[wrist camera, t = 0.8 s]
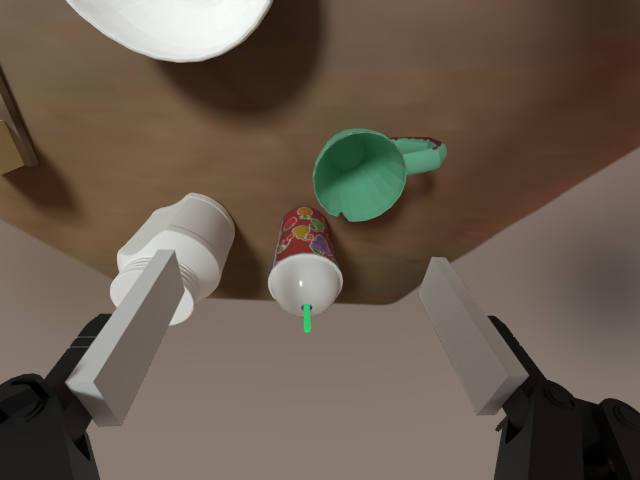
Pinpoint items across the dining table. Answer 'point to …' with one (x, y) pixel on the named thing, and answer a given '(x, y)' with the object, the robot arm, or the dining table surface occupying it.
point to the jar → (180, 249)
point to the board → (16, 127)
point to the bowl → (175, 25)
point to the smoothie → (304, 266)
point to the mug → (370, 171)
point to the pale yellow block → (8, 151)
